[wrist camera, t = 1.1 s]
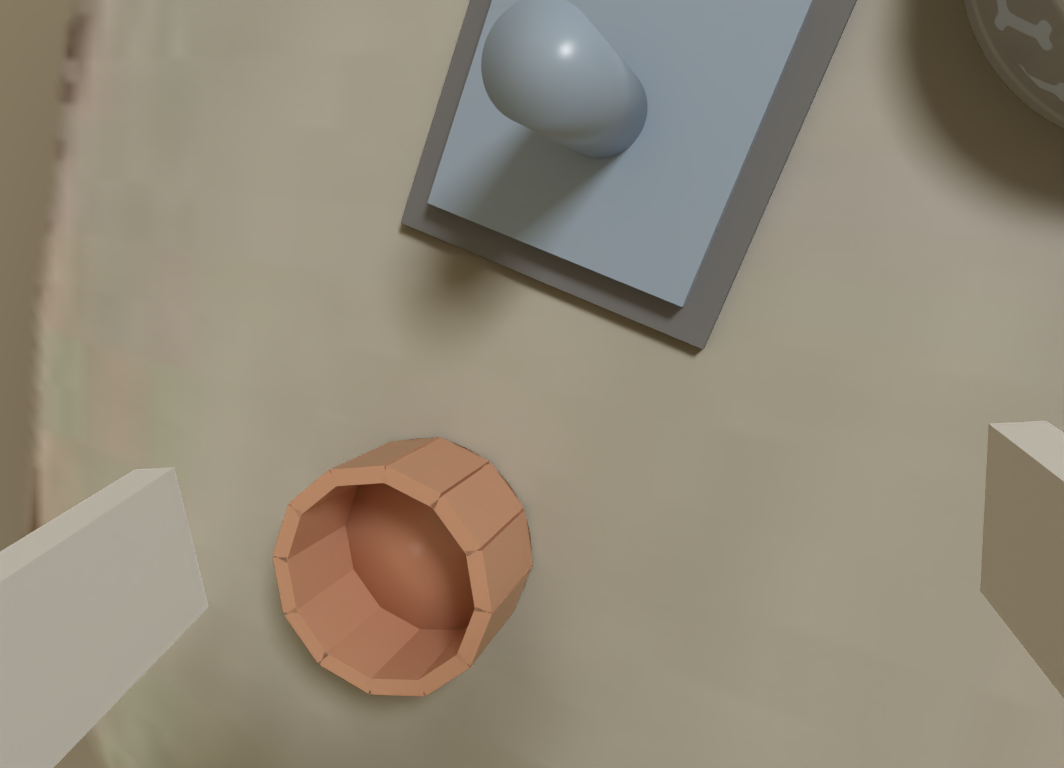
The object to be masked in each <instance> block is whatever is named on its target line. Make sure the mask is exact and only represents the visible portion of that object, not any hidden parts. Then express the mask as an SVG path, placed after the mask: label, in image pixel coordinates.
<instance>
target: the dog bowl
mask: <svg viewBox="0 0 1064 768" xmlns="http://www.w3.org/2000/svg"><path fill="white" fill-rule="evenodd" d="M963 1H964V5H965V9H966V13H967V17H968V20H969V22H970V25H971V28H972V31H973V33H974V35H975V38H976V40H977V42H978V44H979V46H980V48H981V50H982V52H983V53H984V55H985V57H986V58H987V60H988V62H989V63H990V65H991V66H992V68H993V69H994V71H995V72H996V73H997V75H998V76H999V77H1000V78H1001V80H1002V81H1003V82H1004V83H1005V84H1006V85H1007V86H1008V88H1009V89H1010V90H1011V91H1012V92H1013V93H1014V94H1015V95H1016V96H1017V97H1018V98H1019V99H1021V100H1022V101H1023V102H1024V103H1025V104H1026V105H1028V106H1029V107H1030V108H1031V109H1033V110H1034V111H1035V112H1037V113H1038V114H1039V115H1041V116H1042V117H1044V118H1045V119H1047V120H1048V121H1050V122H1052V123H1053V124H1055V125H1057V126H1059V127H1061V128H1062V129H1064V0H963Z"/></svg>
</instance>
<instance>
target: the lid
mask: <svg viewBox="0 0 1064 768" xmlns="http://www.w3.org/2000/svg"><path fill="white" fill-rule="evenodd" d="M811 8H812V0H492V2H491V5H490V8H489V11H488V14H487V17H486V20H485V23H484V27H483V30H482V33H481V36H480V39H479V42H478V45H477V49H476V52H475V55H474V58H473V61H472V64H471V67H470V70H469V74H468V77H467V80H466V83H465V86H464V89H463V92H462V96H461V99H460V102H459V105H458V108H457V111H456V114H455V117H454V121H453V124H452V127H451V130H450V133H449V136H448V139H447V143H446V146H445V149H444V152H443V155H442V158H441V161H440V164H439V168H438V171H437V174H436V177H435V180H434V183H433V186H432V190H431V193H430V196H429V199H428V202H427V203H429V204H431V205H433V206H436V207H438V208H441V209H443V210H446V211H448V212H451V213H453V214H455V215H458V216H460V217H463V218H465V219H468V220H470V221H473V222H475V223H477V224H480V225H482V226H485V227H487V228H490V229H492V230H495V231H497V232H499V233H502V234H504V235H507V236H509V237H512V238H514V239H517V240H519V241H522V242H524V243H526V244H529V245H531V246H534V247H536V248H539V249H541V250H544V251H546V252H548V253H551V254H553V255H556V256H558V257H561V258H563V259H566V260H568V261H570V262H573V263H575V264H578V265H580V266H583V267H585V268H588V269H590V270H592V271H595V272H597V273H600V274H602V275H605V276H607V277H610V278H612V279H614V280H617V281H619V282H622V283H624V284H627V285H629V286H632V287H634V288H637V289H639V290H641V291H644V292H646V293H649V294H651V295H654V296H656V297H659V298H661V299H663V300H666V301H668V302H671V303H673V304H676V305H678V306H681V307H684V306H685V305H686V302H687V300H688V298H689V295H690V293H691V291H692V288H693V286H694V284H695V281H696V279H697V276H698V274H699V272H700V269H701V267H702V265H703V262H704V260H705V258H706V255H707V253H708V251H709V248H710V246H711V243H712V241H713V239H714V236H715V234H716V232H717V229H718V227H719V225H720V222H721V220H722V218H723V215H724V213H725V211H726V208H727V206H728V203H729V201H730V199H731V196H732V194H733V192H734V189H735V187H736V185H737V182H738V180H739V178H740V175H741V173H742V171H743V168H744V166H745V163H746V161H747V159H748V156H749V154H750V152H751V149H752V147H753V145H754V142H755V140H756V138H757V135H758V133H759V130H760V128H761V126H762V123H763V121H764V119H765V116H766V114H767V112H768V109H769V107H770V105H771V102H772V100H773V98H774V95H775V93H776V90H777V88H778V86H779V83H780V81H781V79H782V76H783V74H784V72H785V69H786V67H787V65H788V62H789V60H790V57H791V55H792V53H793V50H794V48H795V46H796V43H797V41H798V39H799V36H800V34H801V32H802V29H803V27H804V25H805V22H806V20H807V17H808V15H809V13H810V10H811Z"/></svg>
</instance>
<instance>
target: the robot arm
mask: <svg viewBox="0 0 1064 768" xmlns="http://www.w3.org/2000/svg"><path fill="white" fill-rule="evenodd" d="M980 591H981V592H982V594H983V595H984V596H985V597H986V599H987V600H988V601H989V603H990V604H991V605H992V606H993V608H994V609H995V610H996V612H997V613H998V614H999V615H1000V617H1001V618H1002V619H1003V621H1004V622H1005V623H1006V624H1007V626H1008V627H1009V628H1010V630H1011V631H1012V632H1013V633H1014V635H1015V636H1016V637H1017V639H1018V640H1019V641H1020V642H1021V644H1022V645H1023V646H1024V648H1025V649H1026V650H1027V651H1028V653H1029V654H1030V655H1031V657H1032V658H1033V659H1034V660H1035V662H1036V663H1037V664H1038V666H1039V667H1040V668H1041V669H1042V671H1043V672H1044V673H1045V675H1046V676H1047V677H1048V678H1049V680H1050V681H1051V682H1052V684H1053V685H1054V686H1055V687H1056V689H1057V690H1058V691H1059V693H1060V694H1061V695H1062V696H1063V698H1064V432H1062V431H1061V430H1059V429H1058V428H1056V427H1055V426H1053V425H1052V424H1050V423H1048V422H1047V421H1032V422H1014V423H995V424H989V430H988V450H987V469H986V489H985V509H984V528H983V548H982V568H981V587H980ZM208 608H209V606H208V602H207V598H206V594H205V590H204V586H203V582H202V577H201V573H200V569H199V565H198V561H197V557H196V553H195V549H194V545H193V541H192V537H191V533H190V529H189V525H188V521H187V517H186V513H185V508H184V504H183V500H182V496H181V492H180V488H179V484H178V480H177V476H176V472H175V468H174V467H172V468H153V469H135V470H133V471H131V472H130V473H128V474H126V475H125V476H123V477H122V478H120V479H118V480H117V481H115V482H113V483H112V484H110V485H108V486H107V487H105V488H104V489H102V490H100V491H99V492H97V493H95V494H94V495H92V496H90V497H89V498H87V499H86V500H84V501H82V502H81V503H79V504H77V505H76V506H74V507H72V508H71V509H69V510H68V511H66V512H64V513H63V514H61V515H59V516H58V517H56V518H54V519H53V520H51V521H50V522H48V523H46V524H45V525H43V526H41V527H40V528H38V529H36V530H35V531H33V532H32V533H30V534H28V535H27V536H25V537H23V538H22V539H20V540H19V541H17V542H15V543H14V544H12V545H10V546H9V547H7V548H5V549H4V550H2V551H1V552H0V768H53V767H54V766H55V765H56V764H57V763H58V762H59V761H60V760H61V759H62V758H63V757H64V756H65V755H66V754H67V753H68V752H69V751H70V750H71V749H72V748H73V747H74V746H75V745H76V744H77V743H78V742H79V741H80V740H81V738H83V737H84V735H85V734H86V733H87V732H88V731H89V730H90V729H91V728H92V727H93V726H94V725H95V724H96V723H97V722H98V721H99V720H100V719H101V718H102V717H103V716H104V715H105V714H106V713H107V712H108V711H109V710H110V709H111V708H112V707H113V706H114V705H115V704H116V702H117V701H118V700H119V699H120V698H121V697H122V696H123V695H124V694H125V693H126V692H127V691H128V690H129V689H130V688H131V687H132V686H133V685H134V684H135V683H136V682H137V681H138V680H139V679H140V678H141V677H142V676H143V675H144V674H145V673H146V672H147V670H148V669H149V668H150V667H151V666H152V665H153V664H154V663H155V662H156V661H157V660H158V659H159V658H160V657H161V656H162V655H163V654H164V653H165V652H166V651H167V650H168V649H169V648H170V647H171V646H172V645H173V644H174V643H175V642H176V641H177V640H178V638H179V637H180V636H181V635H182V634H183V633H184V632H185V631H186V630H187V629H188V628H189V627H190V626H191V625H192V624H193V623H194V622H195V621H196V620H197V619H198V618H199V617H200V616H201V615H202V614H203V613H204V612H205V611H206V610H207V609H208Z"/></svg>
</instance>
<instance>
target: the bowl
mask: <svg viewBox="0 0 1064 768" xmlns="http://www.w3.org/2000/svg"><path fill="white" fill-rule="evenodd" d="M523 508H524V507H523V505H522V504H521V503H520V501H519V500H518V498H517V496H516V494H515V493H514V491H513V490H512V488H511V487H510V485H509V484H508V482H507V481H506V480H505V479H504V478H503V476H502V475H501V474H500V473H499V472H498V471H497V470H496V469H495V467H494V466H493V465H492V463H489V461H488V460H486V459H484V458H482V457H480V456H479V455H478V454H476V453H474V452H472V451H471V450H469V449H467V448H465V447H462V446H460V445H457V444H455V443H452V442H449V441H447V440H445V439H443V438H440V439H439V437H436V438H417V439H410V440H402V441H391V442H389V443H387V444H384V445H382V446H380V447H378V448H376V449H374V450H371V451H369V452H367V453H365V454H363V455H361V456H358V457H356V458H354V459H352V460H350V461H348V462H345V463H343V464H341V465H339V466H337V467H335V468H332V469H330V470H328V471H327V472H326V473H324V474H323V475H322V476H321V477H320V478H318V479H317V480H316V481H315V482H314V483H312V484H311V485H310V486H309V487H308V488H306V489H305V490H304V491H303V492H302V493H300V494H299V495H298V496H297V497H296V498H294V499H293V500H292V501H291V502H290V504H289V505H288V507H287V510H286V513H285V516H284V520H283V523H282V526H281V530H280V533H279V536H278V540H277V543H276V546H275V550H274V553H273V555H274V556H275V557H273V562H274V567H275V572H276V577H277V583H278V588H279V593H280V598H281V603H282V609H283V613H287V614H286V615H285V617H286V618H287V620H288V621H289V623H290V624H291V626H292V627H293V628H294V630H295V631H296V633H297V634H298V636H299V637H300V638H301V640H302V641H303V643H304V644H305V646H306V647H307V648H308V650H309V651H310V653H311V654H312V656H313V657H314V658H315V660H316V661H317V663H319V662H320V661H321V663H320V665H321V666H322V667H324V668H326V669H327V670H329V671H331V672H332V673H334V674H336V675H338V676H339V677H341V678H343V679H344V680H346V681H348V682H349V683H351V684H353V685H354V686H356V687H358V688H360V689H361V690H363V691H365V692H366V693H368V694H369V693H370V692H371V695H399V696H424V695H426V696H427V695H428V694H430V693H431V692H433V691H434V690H436V689H438V688H439V687H441V686H442V685H444V684H445V683H447V682H448V681H450V680H452V679H453V678H455V677H456V676H458V675H459V674H461V673H463V672H464V671H466V670H467V669H469V668H470V667H471V666H472V664H473V663H474V662H475V660H476V659H477V658H478V657H479V655H480V654H481V653H482V651H483V650H484V649H485V648H486V646H487V645H488V644H489V642H490V641H491V640H492V639H493V637H494V636H495V635H496V633H497V632H498V631H499V630H500V628H501V627H502V626H503V625H504V623H505V622H506V621H507V619H508V618H509V617H510V616H511V614H512V613H513V612H514V610H515V608H516V605H517V603H518V600H519V598H520V595H521V593H522V591H523V589H524V587H525V584H526V581H527V578H528V576H529V573H530V571H531V568H532V566H533V565H532V563H533V560H532V553H531V539H530V532H529V527H528V523H527V519H526V514H525V510H523Z"/></svg>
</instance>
